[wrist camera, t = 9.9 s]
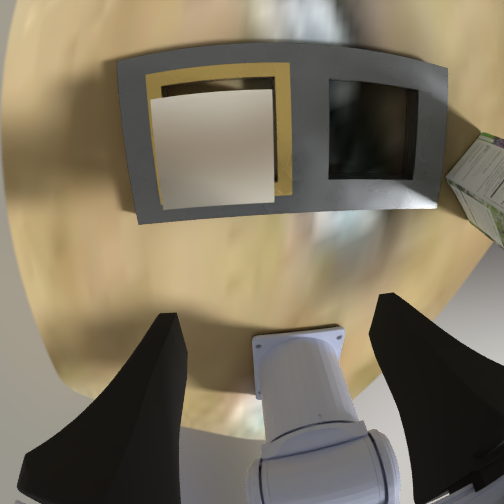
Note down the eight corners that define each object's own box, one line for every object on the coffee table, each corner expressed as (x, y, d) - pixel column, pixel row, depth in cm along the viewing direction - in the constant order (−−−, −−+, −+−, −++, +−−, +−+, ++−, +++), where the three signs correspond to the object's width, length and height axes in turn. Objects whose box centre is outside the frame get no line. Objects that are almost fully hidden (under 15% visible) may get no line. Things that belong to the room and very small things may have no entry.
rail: (425, 200, 20) (438, 209, 18) (144, 215, 19) (137, 226, 17) (434, 68, 15) (449, 68, 13) (125, 63, 14) (115, 61, 13)
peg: (256, 157, 18) (274, 202, 11) (190, 162, 18) (163, 210, 11) (254, 93, 16) (272, 89, 9) (185, 98, 16) (150, 99, 9)
